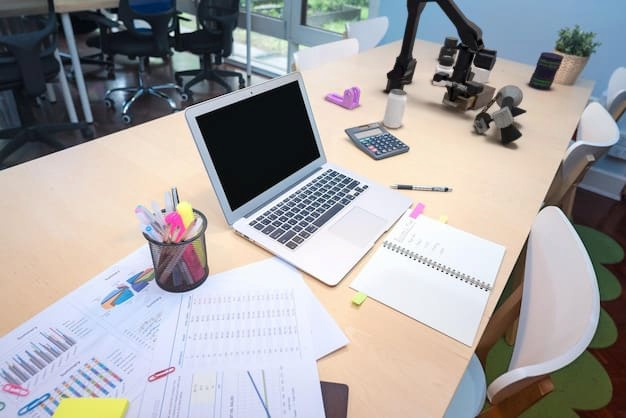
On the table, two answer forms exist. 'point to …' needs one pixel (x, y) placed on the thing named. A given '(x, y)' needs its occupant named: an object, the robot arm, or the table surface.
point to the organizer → (482, 96)
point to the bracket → (346, 98)
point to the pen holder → (409, 75)
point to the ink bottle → (449, 48)
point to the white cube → (480, 75)
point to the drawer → (460, 101)
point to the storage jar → (545, 71)
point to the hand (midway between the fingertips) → (451, 104)
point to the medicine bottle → (444, 68)
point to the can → (395, 108)
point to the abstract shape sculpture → (503, 113)
